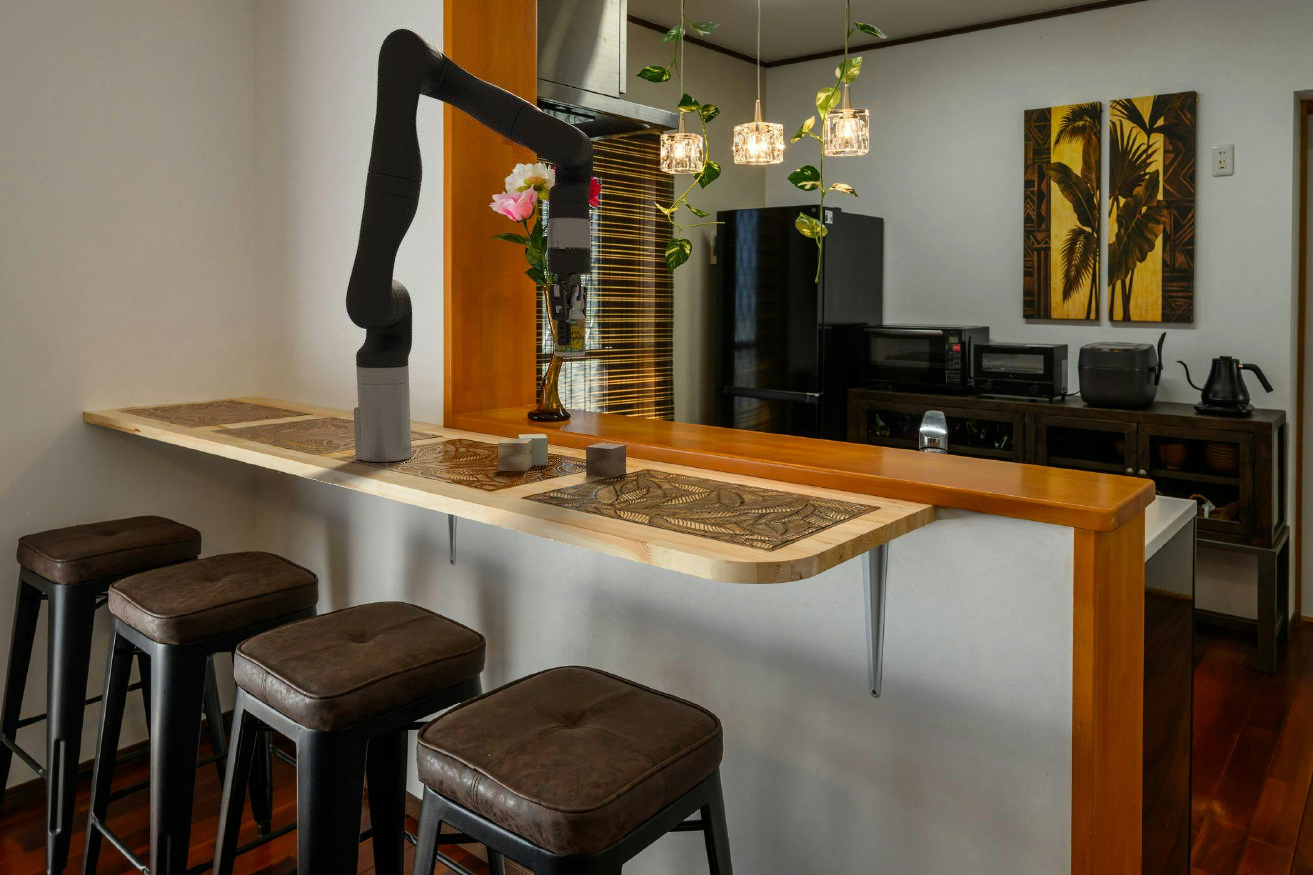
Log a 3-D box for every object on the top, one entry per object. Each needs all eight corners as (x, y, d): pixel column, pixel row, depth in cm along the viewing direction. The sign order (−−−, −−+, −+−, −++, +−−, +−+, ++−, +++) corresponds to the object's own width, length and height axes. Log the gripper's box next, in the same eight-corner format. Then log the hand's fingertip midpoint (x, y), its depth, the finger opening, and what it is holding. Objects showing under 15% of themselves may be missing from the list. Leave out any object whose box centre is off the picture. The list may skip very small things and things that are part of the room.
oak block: (498, 471, 158) (498, 442, 157) (504, 465, 163) (504, 438, 162) (526, 471, 158) (526, 443, 157) (532, 466, 163) (531, 438, 162)
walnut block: (586, 475, 154) (586, 446, 154) (601, 470, 159) (601, 442, 158) (611, 478, 152) (611, 449, 151) (626, 473, 156) (626, 444, 156)
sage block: (520, 466, 163) (519, 438, 162) (518, 461, 168) (518, 434, 167) (547, 465, 164) (547, 437, 163) (545, 460, 169) (545, 433, 168)
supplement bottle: (576, 354, 163) (576, 300, 161) (590, 356, 158) (590, 301, 157) (549, 355, 160) (548, 300, 158) (563, 357, 155) (563, 300, 154)
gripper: (562, 249, 164) (562, 342, 167) (533, 244, 150) (535, 346, 153) (601, 249, 162) (601, 343, 165) (577, 244, 148) (577, 347, 151)
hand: (569, 344), depth 159 cm, fingers closed on supplement bottle, 5 cm apart
